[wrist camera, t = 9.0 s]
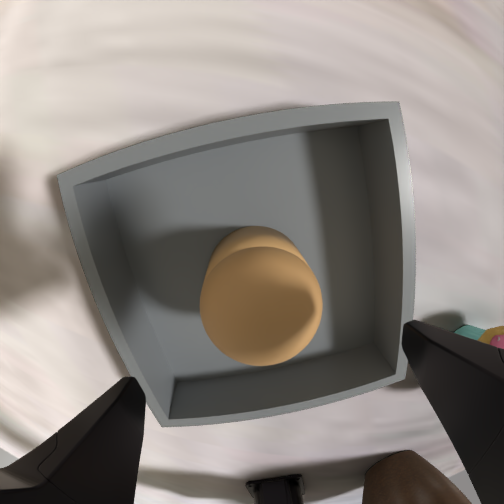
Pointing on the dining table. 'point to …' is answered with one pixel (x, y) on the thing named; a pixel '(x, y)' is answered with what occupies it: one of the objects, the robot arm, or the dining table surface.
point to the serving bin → (244, 215)
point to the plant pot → (409, 482)
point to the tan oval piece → (259, 297)
